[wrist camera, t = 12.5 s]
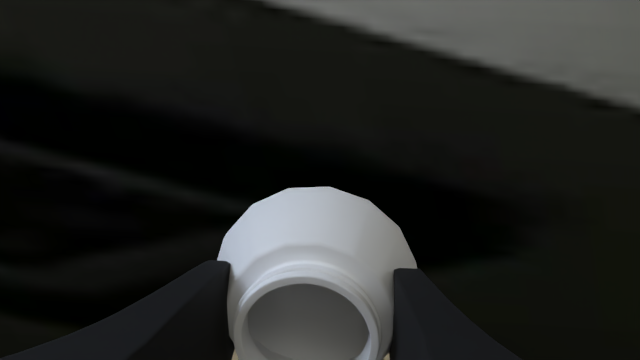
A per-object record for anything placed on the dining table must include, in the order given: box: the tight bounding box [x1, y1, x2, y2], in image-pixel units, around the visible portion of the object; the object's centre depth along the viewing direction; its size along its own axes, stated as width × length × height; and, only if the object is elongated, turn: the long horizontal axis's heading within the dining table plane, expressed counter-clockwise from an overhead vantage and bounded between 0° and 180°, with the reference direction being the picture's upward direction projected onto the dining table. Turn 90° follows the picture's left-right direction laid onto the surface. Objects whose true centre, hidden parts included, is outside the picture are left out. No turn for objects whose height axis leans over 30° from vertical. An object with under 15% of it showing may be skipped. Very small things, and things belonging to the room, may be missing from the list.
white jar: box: [217, 187, 417, 360], centre depth 11 cm, size 5×3×5 cm
